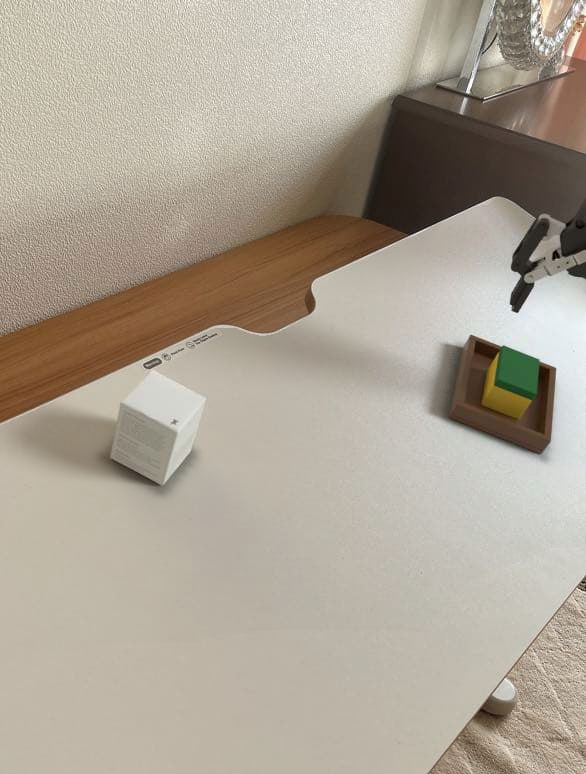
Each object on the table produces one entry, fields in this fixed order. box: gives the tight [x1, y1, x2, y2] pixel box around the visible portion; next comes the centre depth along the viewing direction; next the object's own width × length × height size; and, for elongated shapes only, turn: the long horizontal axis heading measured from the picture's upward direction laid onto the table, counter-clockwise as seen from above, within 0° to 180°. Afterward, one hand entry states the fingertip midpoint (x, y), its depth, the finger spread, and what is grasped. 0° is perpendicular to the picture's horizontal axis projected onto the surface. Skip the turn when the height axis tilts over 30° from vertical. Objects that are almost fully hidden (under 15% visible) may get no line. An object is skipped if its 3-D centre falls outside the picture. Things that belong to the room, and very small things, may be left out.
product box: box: [109, 369, 207, 486], centre depth 83 cm, size 6×6×7 cm
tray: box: [448, 334, 557, 455], centre depth 104 cm, size 15×11×2 cm
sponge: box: [481, 344, 541, 419], centre depth 103 cm, size 7×5×4 cm, turn 162°
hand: (551, 322), depth 96 cm, fingers open, 8 cm apart
